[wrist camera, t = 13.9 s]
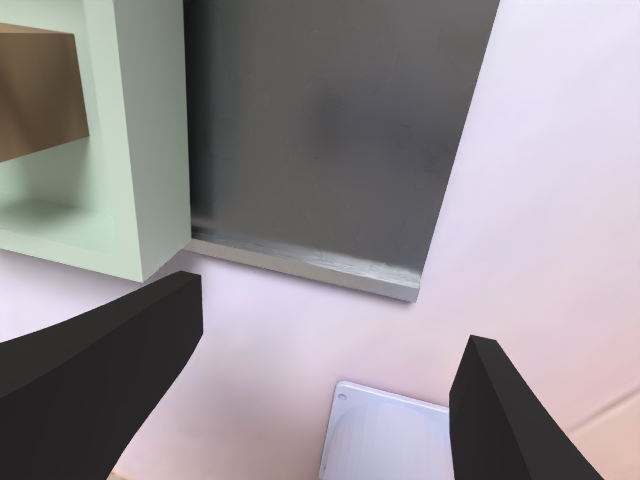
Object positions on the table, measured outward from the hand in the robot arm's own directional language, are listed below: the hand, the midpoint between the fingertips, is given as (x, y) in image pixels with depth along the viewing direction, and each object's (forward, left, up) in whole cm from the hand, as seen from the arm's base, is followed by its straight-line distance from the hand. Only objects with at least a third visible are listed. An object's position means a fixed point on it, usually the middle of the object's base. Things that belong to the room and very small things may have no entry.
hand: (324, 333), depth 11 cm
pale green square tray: (+4, +15, -9) cm, 18 cm away
